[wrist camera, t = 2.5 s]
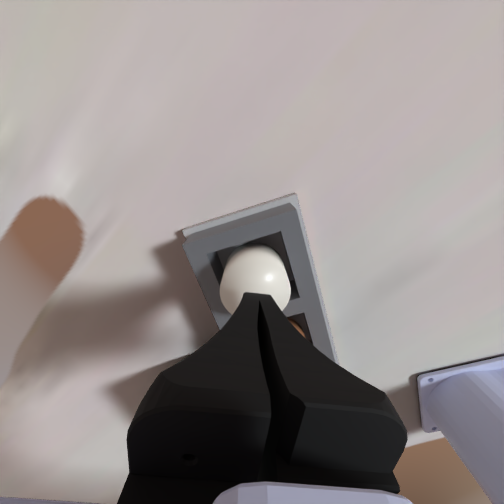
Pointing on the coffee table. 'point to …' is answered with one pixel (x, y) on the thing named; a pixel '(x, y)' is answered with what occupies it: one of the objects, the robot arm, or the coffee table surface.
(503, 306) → the coffee table surface
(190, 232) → the gray compartment tray
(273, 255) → the white egg
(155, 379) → the robot arm
